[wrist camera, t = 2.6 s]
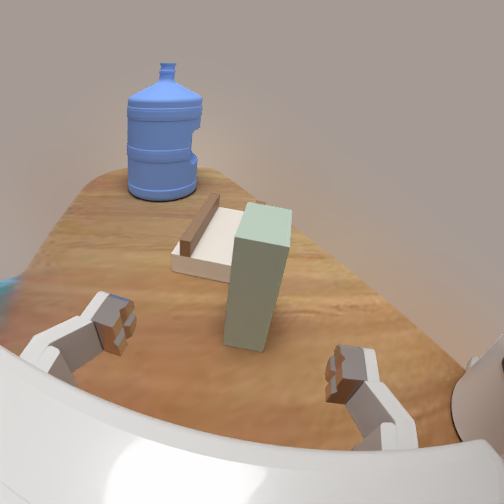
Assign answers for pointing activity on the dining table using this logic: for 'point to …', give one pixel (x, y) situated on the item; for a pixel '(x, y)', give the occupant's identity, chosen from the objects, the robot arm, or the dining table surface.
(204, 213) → the cleat board
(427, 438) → the dining table surface
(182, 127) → the water jug
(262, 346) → the sage cabinet
